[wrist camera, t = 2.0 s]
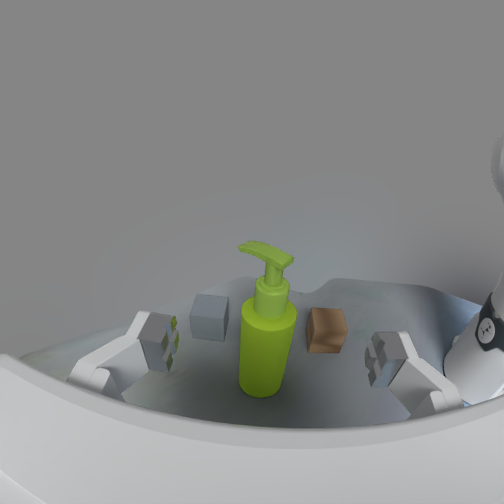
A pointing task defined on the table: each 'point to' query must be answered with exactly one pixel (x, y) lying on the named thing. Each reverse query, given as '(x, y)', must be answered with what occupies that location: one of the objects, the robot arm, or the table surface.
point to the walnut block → (325, 330)
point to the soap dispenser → (266, 324)
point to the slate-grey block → (209, 317)
